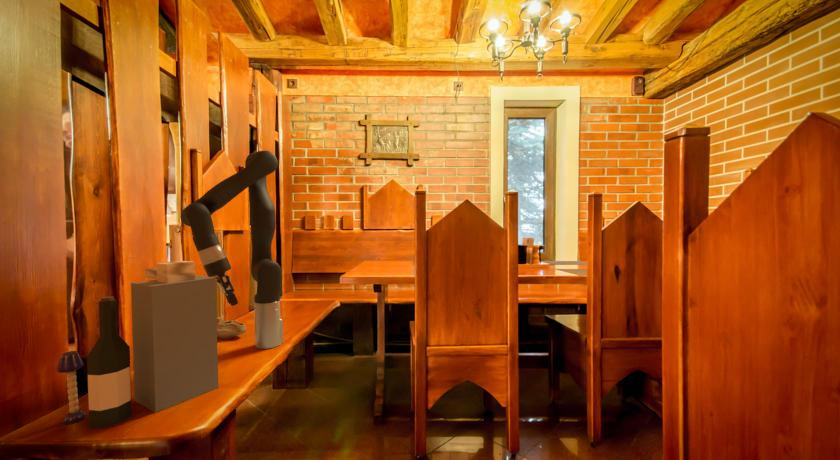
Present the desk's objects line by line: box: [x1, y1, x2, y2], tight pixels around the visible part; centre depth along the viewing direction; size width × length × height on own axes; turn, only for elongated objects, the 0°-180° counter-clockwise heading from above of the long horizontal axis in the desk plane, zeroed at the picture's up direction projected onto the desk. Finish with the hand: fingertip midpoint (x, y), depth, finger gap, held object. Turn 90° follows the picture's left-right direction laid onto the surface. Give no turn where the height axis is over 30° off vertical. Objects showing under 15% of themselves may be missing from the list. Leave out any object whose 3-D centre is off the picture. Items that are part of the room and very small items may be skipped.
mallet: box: [144, 260, 196, 283], centre depth 105 cm, size 7×19×5 cm, turn 58°
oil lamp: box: [217, 316, 248, 339], centre depth 155 cm, size 11×15×8 cm
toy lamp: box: [56, 350, 87, 425], centre depth 89 cm, size 5×5×17 cm
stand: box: [130, 274, 219, 413], centre depth 102 cm, size 16×12×32 cm
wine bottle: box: [86, 295, 133, 429], centre depth 89 cm, size 8×8×30 cm
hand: (233, 303), depth 126 cm, fingers open, 8 cm apart
